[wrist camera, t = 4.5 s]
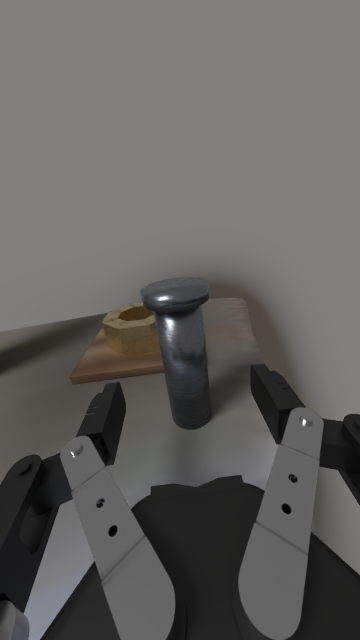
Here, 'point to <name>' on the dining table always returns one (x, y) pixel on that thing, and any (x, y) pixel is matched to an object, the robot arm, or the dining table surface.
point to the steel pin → (182, 346)
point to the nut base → (113, 363)
